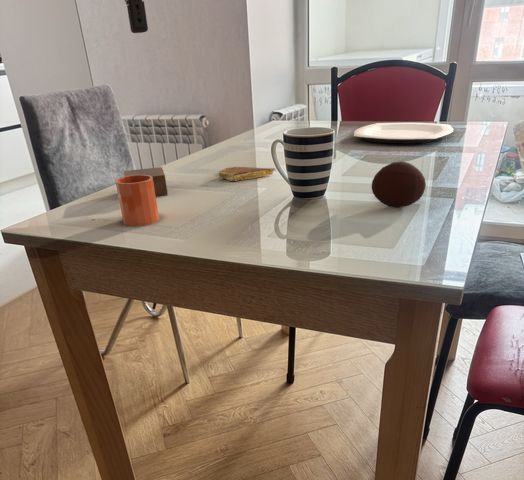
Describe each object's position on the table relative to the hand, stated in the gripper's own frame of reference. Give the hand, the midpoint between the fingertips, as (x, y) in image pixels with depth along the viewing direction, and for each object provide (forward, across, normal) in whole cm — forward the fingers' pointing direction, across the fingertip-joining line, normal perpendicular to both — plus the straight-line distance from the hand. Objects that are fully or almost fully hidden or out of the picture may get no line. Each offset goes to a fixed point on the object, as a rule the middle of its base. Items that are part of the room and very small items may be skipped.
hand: (139, 32), depth 78 cm
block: (+28, -18, -3) cm, 33 cm away
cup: (+28, +5, -5) cm, 29 cm away
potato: (+28, +12, +39) cm, 50 cm away
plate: (+28, -48, +71) cm, 90 cm away
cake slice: (+28, -23, +19) cm, 41 cm away
